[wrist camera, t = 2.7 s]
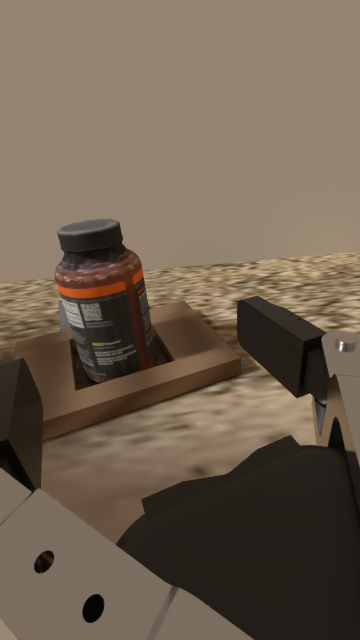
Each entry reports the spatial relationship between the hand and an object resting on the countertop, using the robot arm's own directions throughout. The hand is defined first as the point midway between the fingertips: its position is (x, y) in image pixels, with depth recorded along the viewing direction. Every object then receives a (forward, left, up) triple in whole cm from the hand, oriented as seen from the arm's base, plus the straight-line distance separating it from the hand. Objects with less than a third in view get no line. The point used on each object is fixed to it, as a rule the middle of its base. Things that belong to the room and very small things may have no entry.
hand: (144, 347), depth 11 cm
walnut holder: (0, +11, -9) cm, 14 cm away
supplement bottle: (0, +11, -9) cm, 14 cm away
